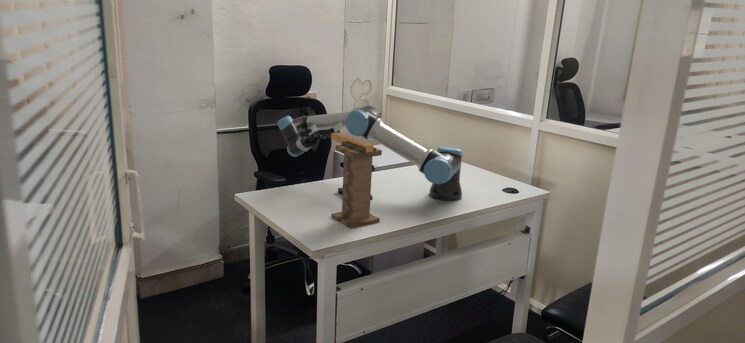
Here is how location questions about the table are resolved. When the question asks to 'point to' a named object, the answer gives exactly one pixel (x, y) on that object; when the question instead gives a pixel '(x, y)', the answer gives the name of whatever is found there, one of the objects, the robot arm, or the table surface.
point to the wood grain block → (352, 141)
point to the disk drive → (340, 191)
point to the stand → (356, 186)
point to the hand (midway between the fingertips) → (328, 126)
